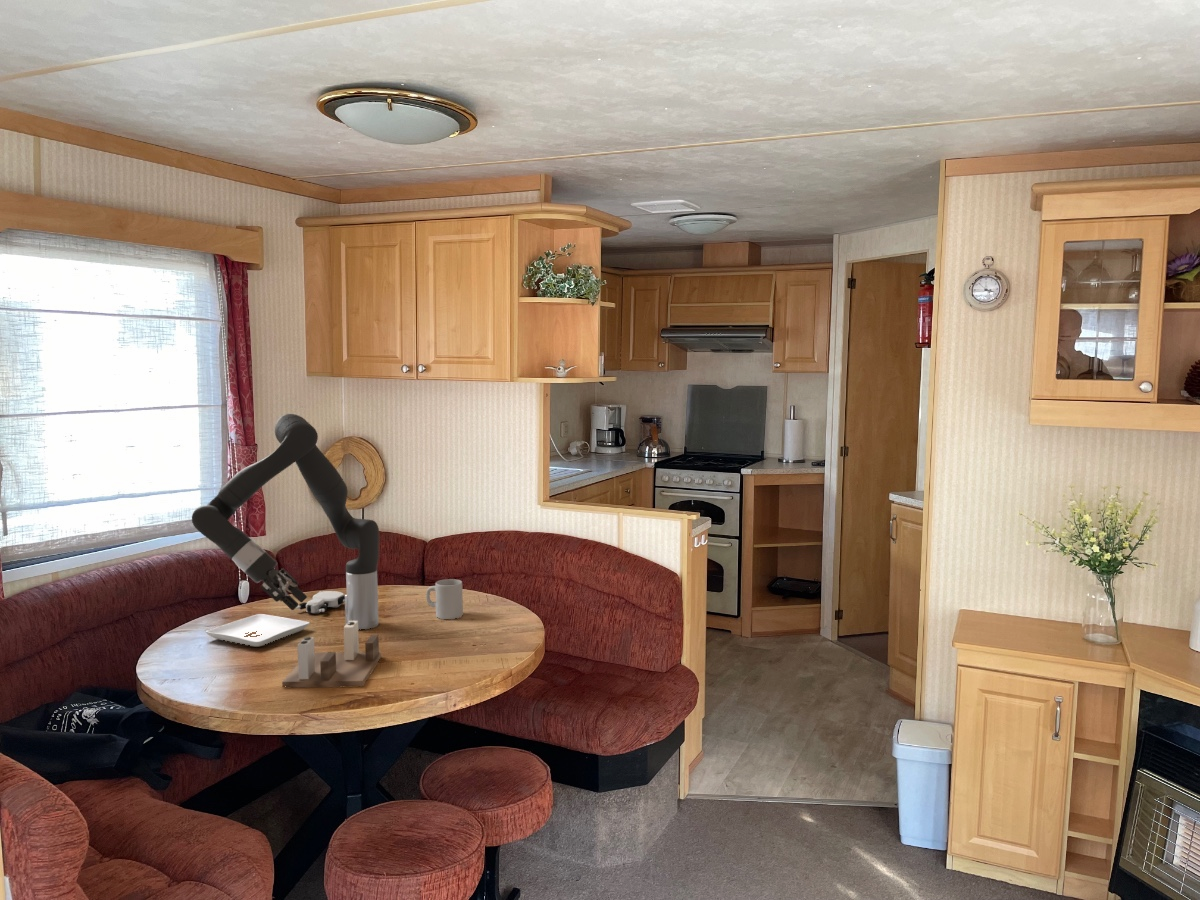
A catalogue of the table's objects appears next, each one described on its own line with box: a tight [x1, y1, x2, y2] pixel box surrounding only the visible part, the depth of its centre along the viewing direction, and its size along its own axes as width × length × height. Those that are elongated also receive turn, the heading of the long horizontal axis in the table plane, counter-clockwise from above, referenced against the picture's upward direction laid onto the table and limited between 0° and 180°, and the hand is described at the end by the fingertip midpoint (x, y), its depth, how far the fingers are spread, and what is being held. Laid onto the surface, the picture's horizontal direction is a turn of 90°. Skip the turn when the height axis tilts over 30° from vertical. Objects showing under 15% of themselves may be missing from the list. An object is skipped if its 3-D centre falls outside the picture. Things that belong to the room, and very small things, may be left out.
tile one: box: [343, 621, 360, 660], centre depth 242 cm, size 2×6×9 cm, turn 2°
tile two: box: [297, 636, 316, 679], centre depth 228 cm, size 2×6×9 cm, turn 2°
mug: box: [425, 578, 464, 620], centre depth 285 cm, size 12×8×11 cm
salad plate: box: [205, 613, 310, 648], centre depth 265 cm, size 21×21×3 cm
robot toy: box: [294, 590, 346, 614], centre depth 293 cm, size 12×4×15 cm
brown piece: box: [281, 634, 382, 688], centre depth 235 cm, size 20×22×6 cm
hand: (300, 603), depth 240 cm, fingers open, 7 cm apart
